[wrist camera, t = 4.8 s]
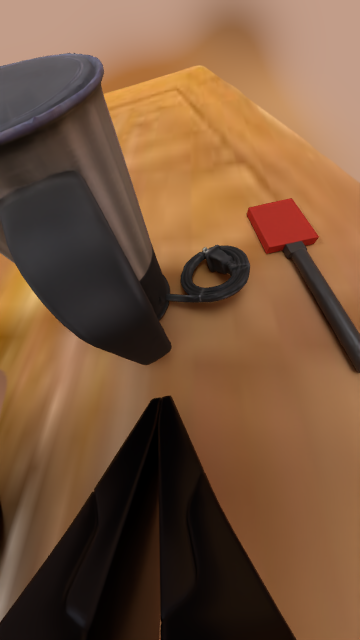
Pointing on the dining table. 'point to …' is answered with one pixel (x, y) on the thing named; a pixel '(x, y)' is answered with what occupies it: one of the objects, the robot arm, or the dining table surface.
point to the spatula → (304, 263)
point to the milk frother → (86, 212)
